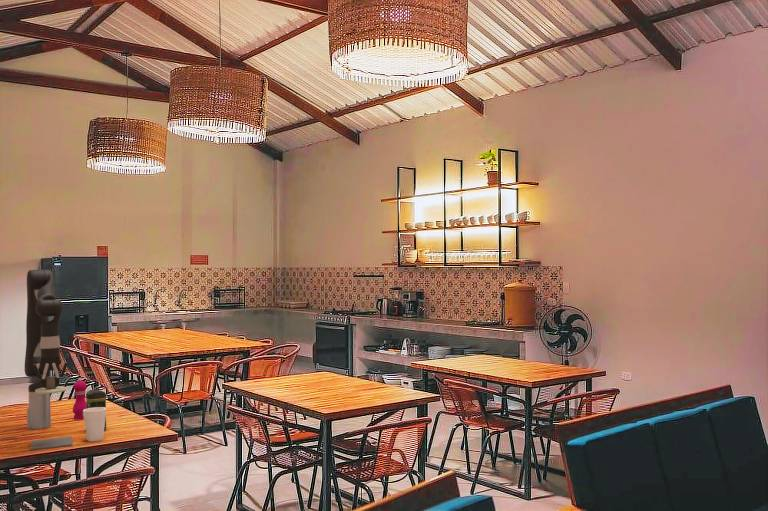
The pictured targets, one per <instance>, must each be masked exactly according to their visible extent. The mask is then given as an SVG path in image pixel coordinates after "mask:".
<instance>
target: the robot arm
mask: <svg viewBox="0 0 768 511" xmlns="http://www.w3.org/2000/svg"><path fill="white" fill-rule="evenodd" d="M35 291H37V295H36V292H35ZM26 299H27V307H26V308H27V309H26V322H25V323H26V326H25V327H26V328H25V329H26V330H25V334H26V335H25V337H26V340H25V342H26V346H25V358H24V374H25V376H26V377H27V378H32V377H33V378H34V377H36V378H38V379H39V380H37V381H34V382H33V383H31V384H29V385H28V388H27V389H28V407H27V408H26V418H27V419H26V423H27V424H26V427H27V428H26V429H29V430H42V429H46V428H50V427H51V426H52V420H51V419H52V418H51V417H52V416H51V412H52V411H51V410H52V409H51V393H49V394H38V393H35V390H36V389H39V388H46V377H49V376H51V371H53V372H54V374H55V375H54V376H56V387H58V386H59V385H60V378H61V377H64V376H65V373H66V370H67V366H68V362H67V361H62V359H61V339H60V323H61V322H60V320H61V318H62V317H61V316H62V314H63V310H64V303H63V302H62V300H60V299H57V296H56V294H55V277H54V273H53V271H52V270H50V269H30V270H28V271H27V273H26ZM49 317H53V318H52V319H51V320H49ZM39 344H40V345H39ZM38 346H40V355H38V356H34V355H35V353H36V350H37V348H38ZM60 365H61V367H62V370H61V372H60V373H59V370H58V368H59V367H60Z"/></svg>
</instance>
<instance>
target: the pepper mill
mask: <svg viewBox="0 0 768 511" xmlns="http://www.w3.org/2000/svg"><path fill="white" fill-rule="evenodd" d="M87 387H88V386H87V383H86V382H85V381H83V379H82V378H81V377H79V378H78V379H77V381H76V382H75V383H74V384H73V389H74V395H75V402H74V403H73V407H72V413H73V414H74V415H73V420H79V421H80V420H84V416H83V410H84V409H87V404H86V393H87V391H86V389H87Z"/></svg>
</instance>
